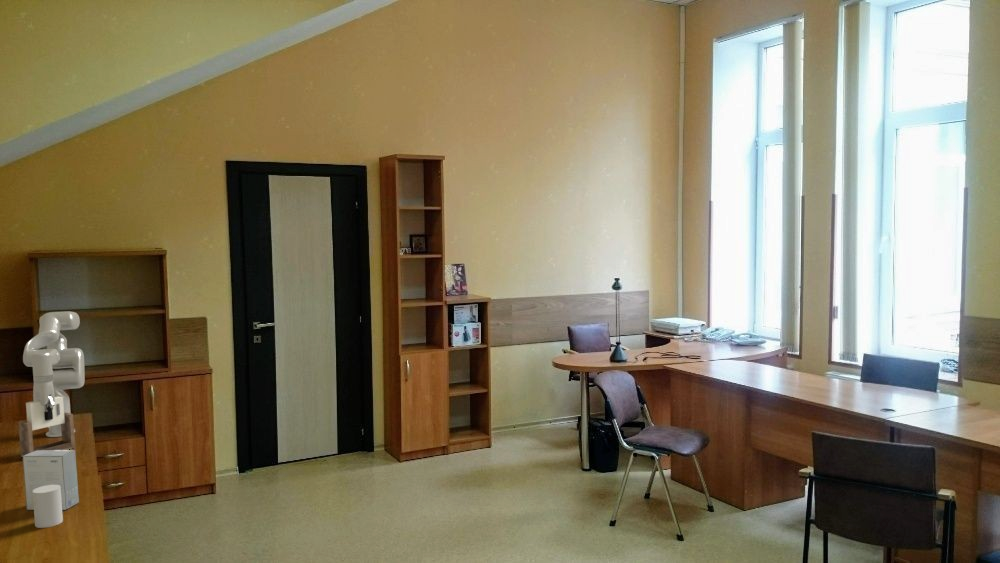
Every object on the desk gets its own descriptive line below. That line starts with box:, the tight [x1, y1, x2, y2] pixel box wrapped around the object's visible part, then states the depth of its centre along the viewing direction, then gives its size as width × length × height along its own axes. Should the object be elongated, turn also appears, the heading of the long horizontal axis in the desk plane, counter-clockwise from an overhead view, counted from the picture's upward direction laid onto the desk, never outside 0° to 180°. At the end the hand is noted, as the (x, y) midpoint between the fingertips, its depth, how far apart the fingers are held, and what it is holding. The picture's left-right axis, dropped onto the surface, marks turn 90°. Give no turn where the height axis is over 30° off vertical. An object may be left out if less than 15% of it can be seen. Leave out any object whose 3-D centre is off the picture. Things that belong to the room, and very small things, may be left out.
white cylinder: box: [33, 485, 64, 529], centre depth 253 cm, size 8×8×12 cm
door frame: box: [18, 412, 76, 458], centre depth 336 cm, size 8×20×16 cm, turn 148°
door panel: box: [25, 396, 65, 431], centre depth 335 cm, size 4×14×12 cm, turn 148°
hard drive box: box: [22, 449, 80, 511], centre depth 269 cm, size 16×8×20 cm, turn 84°
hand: (46, 418), depth 336 cm, fingers closed on door panel, 4 cm apart
